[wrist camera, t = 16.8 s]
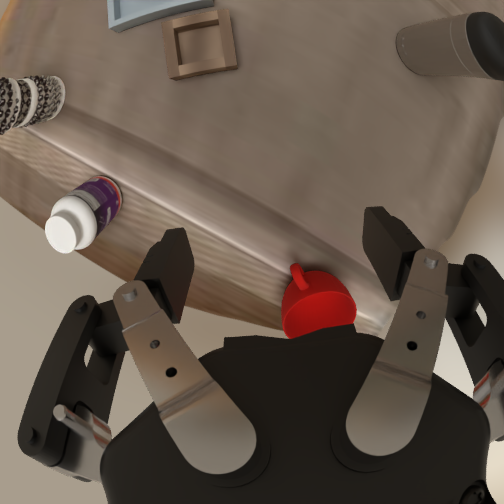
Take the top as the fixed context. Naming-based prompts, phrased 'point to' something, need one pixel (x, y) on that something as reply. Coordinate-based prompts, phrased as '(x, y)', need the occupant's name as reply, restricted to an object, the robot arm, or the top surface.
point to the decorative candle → (29, 101)
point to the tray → (147, 11)
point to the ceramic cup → (315, 303)
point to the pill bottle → (83, 214)
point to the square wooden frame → (199, 44)
